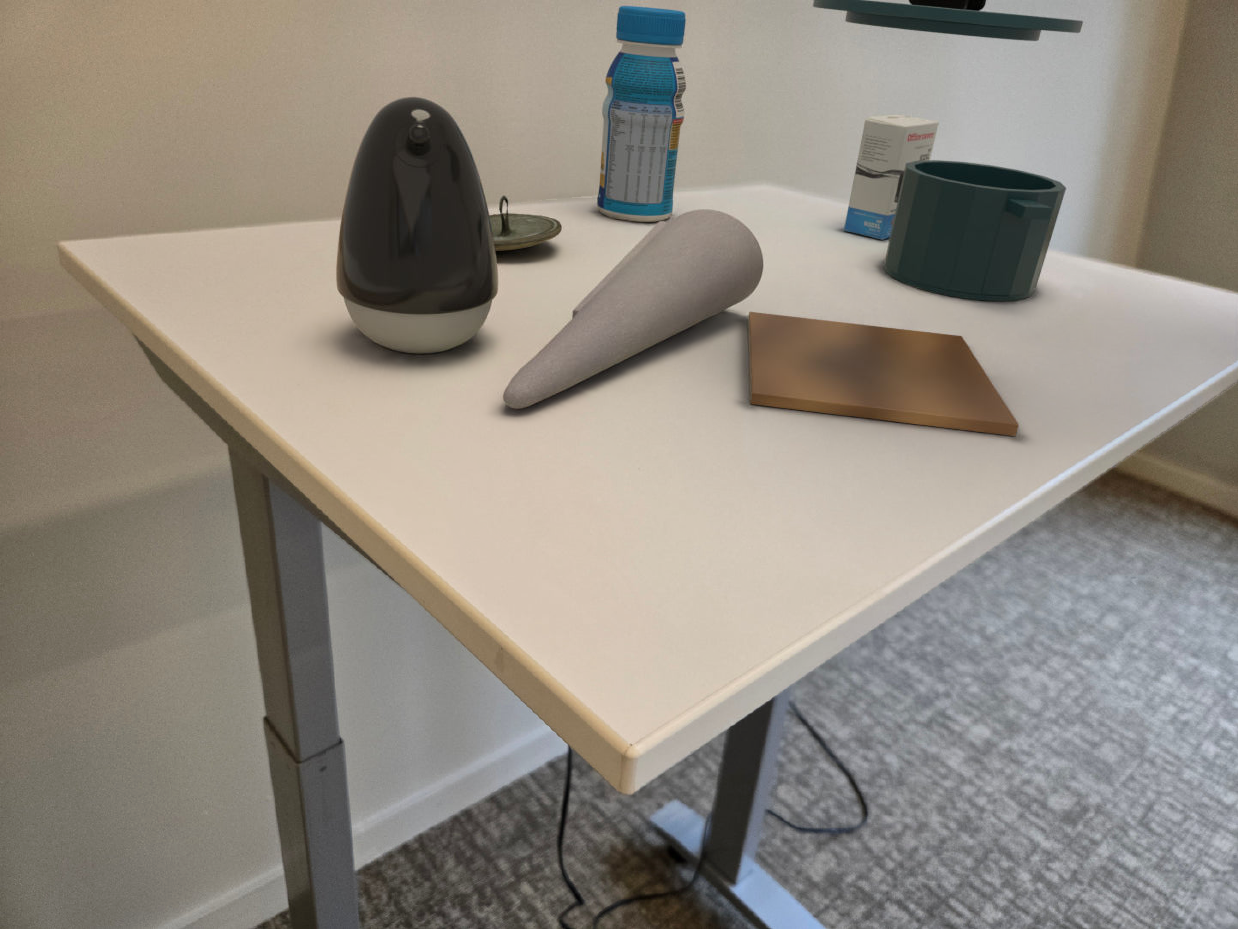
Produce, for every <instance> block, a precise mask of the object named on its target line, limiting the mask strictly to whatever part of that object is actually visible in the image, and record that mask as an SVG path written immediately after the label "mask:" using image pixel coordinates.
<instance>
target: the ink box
mask: <svg viewBox="0 0 1238 929" xmlns="http://www.w3.org/2000/svg"><path fill="white" fill-rule="evenodd" d="M939 124H940V122H939V121H937V120H931V119H925V118H921V117H915V116H910V115H905V114H889V115H888V114H887V115H874V116H868V117H867V118H866V119H865V120H864V125H863V130H862V135H861V140H860V145H859V150H858V156H857V161H856V166H855V171H854V176H853V181H852V185H851V190H850V191H851V192H850V197H849V202H848V207H847V212H846V217H845V222H844V226H843V231H846V232H849V233H853V234H857V235H861V236H864V237H865V236H866V237H870V238H873V239H878V240H886V239H890V234H891V230H892V225H893V220H894V216H895V211H896V207H897V202H898V198H899V193H900V189H901V184H902V179H903V175H904V170H905V166H906V163H910V162H914V161H925V160H931V156H932V153H933V149H934V144H935V141H936V135H937V133H938V127H939Z"/></svg>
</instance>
